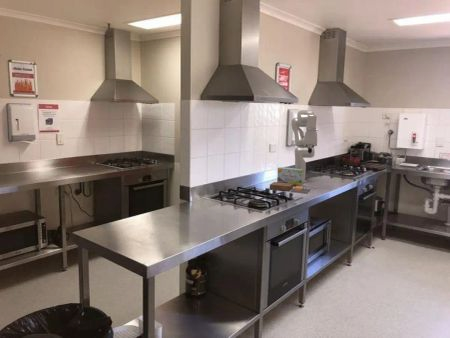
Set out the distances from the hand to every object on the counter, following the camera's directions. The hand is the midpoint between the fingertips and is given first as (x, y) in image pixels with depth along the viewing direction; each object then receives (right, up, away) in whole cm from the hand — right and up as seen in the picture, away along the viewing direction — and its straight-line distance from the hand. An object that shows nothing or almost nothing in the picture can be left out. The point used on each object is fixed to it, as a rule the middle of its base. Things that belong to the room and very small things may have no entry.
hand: (309, 153), depth 298 cm
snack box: (-14, -27, +15) cm, 34 cm away
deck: (-23, -29, -1) cm, 37 cm away
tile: (-10, -27, -6) cm, 30 cm away
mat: (-9, -30, -7) cm, 32 cm away
